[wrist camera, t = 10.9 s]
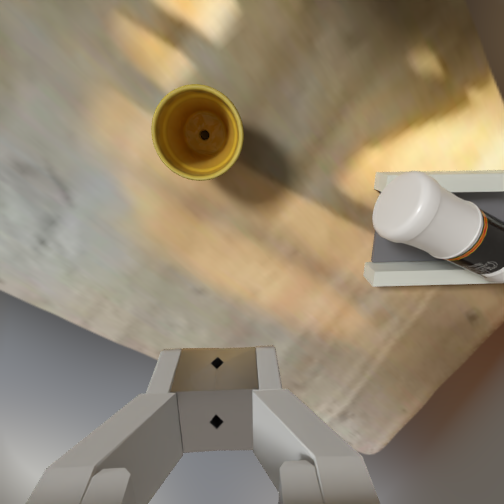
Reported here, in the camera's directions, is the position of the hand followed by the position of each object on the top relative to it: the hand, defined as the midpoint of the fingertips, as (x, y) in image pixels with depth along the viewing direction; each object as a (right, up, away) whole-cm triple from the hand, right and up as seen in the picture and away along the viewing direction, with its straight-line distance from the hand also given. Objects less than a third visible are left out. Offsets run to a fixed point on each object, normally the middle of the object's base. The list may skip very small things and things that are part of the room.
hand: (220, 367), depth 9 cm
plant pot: (-6, +20, +37) cm, 42 cm away
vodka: (+19, +9, +32) cm, 38 cm away
